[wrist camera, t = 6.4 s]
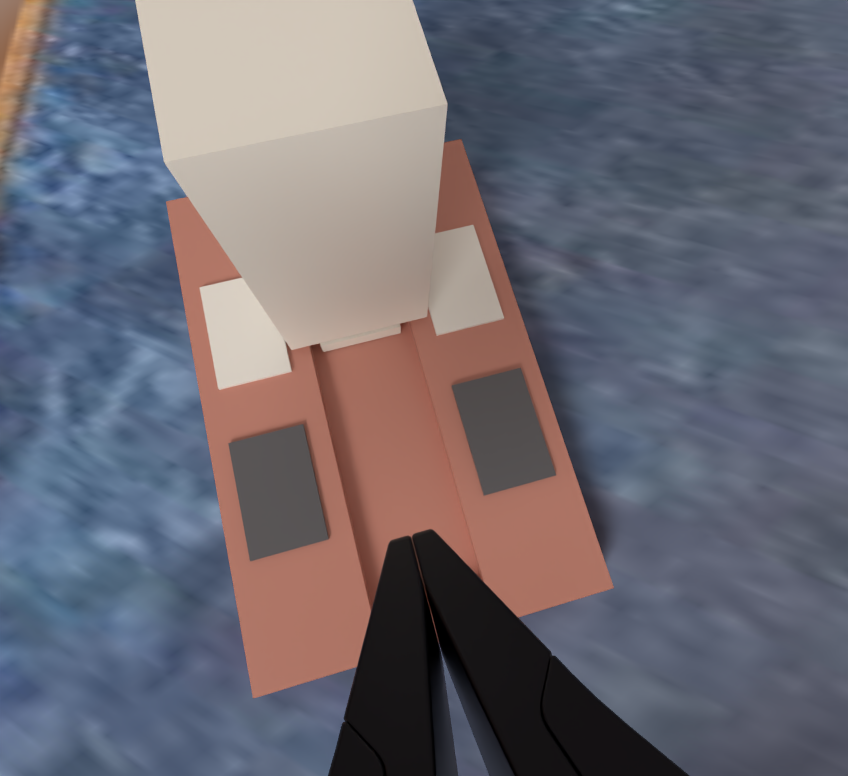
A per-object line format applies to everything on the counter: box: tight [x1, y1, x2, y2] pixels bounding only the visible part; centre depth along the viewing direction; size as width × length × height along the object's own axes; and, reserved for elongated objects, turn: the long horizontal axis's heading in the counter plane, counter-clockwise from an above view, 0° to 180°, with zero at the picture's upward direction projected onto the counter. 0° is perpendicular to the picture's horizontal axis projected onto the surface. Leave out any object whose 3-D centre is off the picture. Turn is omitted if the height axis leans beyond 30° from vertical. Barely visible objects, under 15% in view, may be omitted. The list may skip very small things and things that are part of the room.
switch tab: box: [135, 0, 448, 352], centre depth 15 cm, size 4×5×11 cm
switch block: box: [166, 139, 614, 698], centre depth 19 cm, size 18×12×2 cm, turn 15°
